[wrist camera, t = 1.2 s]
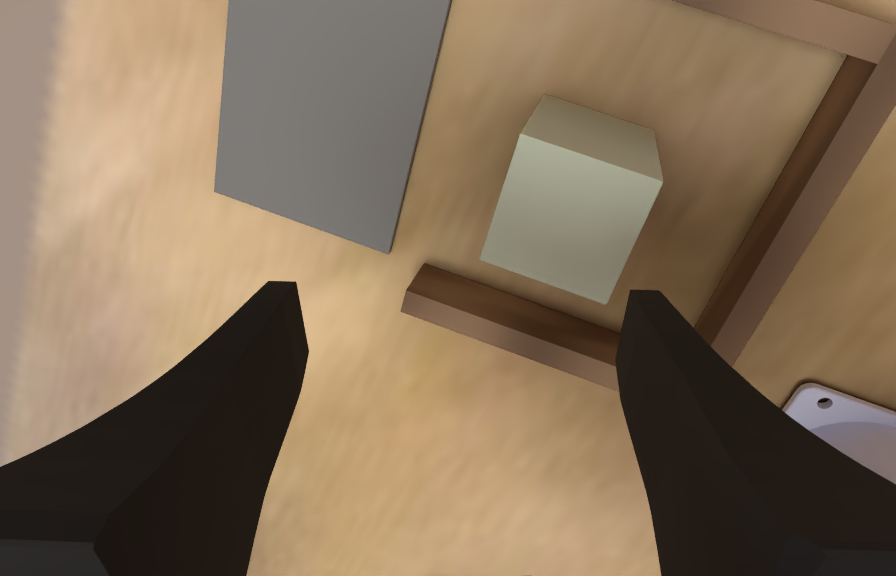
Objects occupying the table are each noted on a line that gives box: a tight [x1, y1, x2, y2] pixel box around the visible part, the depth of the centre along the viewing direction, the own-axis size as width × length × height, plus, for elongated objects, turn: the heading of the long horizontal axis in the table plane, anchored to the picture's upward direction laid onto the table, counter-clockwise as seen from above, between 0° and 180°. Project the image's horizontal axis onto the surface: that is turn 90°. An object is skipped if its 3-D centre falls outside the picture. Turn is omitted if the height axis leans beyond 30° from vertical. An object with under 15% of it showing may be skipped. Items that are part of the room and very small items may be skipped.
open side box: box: [401, 0, 896, 392], centre depth 22 cm, size 12×14×2 cm
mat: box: [214, 0, 452, 254], centre depth 24 cm, size 8×12×1 cm, turn 165°
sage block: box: [479, 94, 664, 305], centre depth 20 cm, size 4×4×6 cm
